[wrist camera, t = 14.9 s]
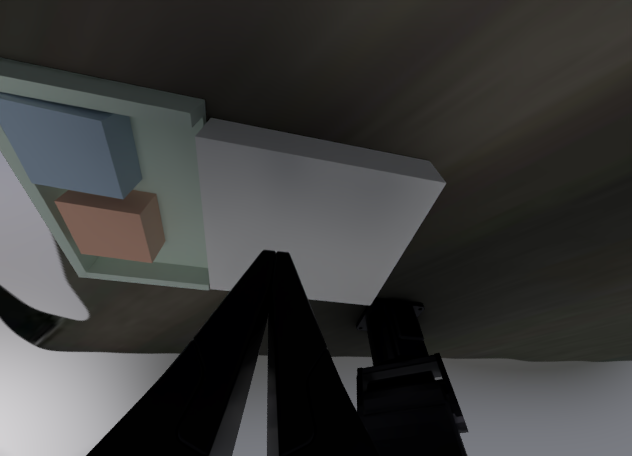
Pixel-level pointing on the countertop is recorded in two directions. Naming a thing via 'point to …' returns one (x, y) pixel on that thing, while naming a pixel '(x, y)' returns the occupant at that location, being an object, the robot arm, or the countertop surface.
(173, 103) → the tray
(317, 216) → the plate
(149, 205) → the terracotta tile
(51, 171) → the slate blue tile
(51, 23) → the countertop surface
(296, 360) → the robot arm
